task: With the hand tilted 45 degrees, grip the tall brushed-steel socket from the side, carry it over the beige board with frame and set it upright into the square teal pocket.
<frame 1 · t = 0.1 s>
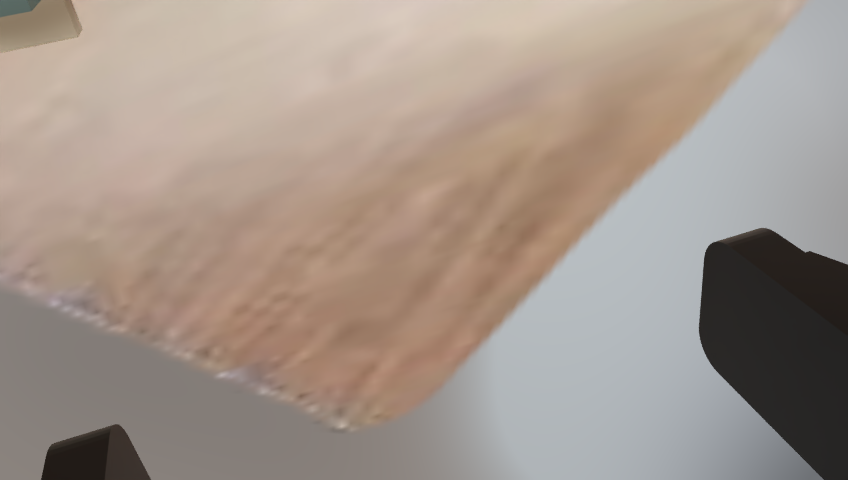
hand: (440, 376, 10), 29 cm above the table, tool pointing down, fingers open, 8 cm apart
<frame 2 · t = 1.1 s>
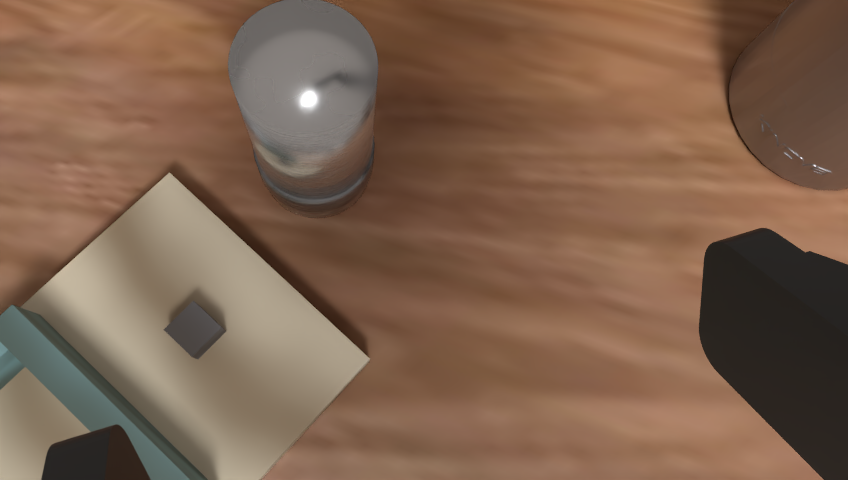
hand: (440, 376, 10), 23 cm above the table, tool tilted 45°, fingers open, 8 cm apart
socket: (317, 167, 34), on the table
beige board with frame: (98, 443, 30), on the table
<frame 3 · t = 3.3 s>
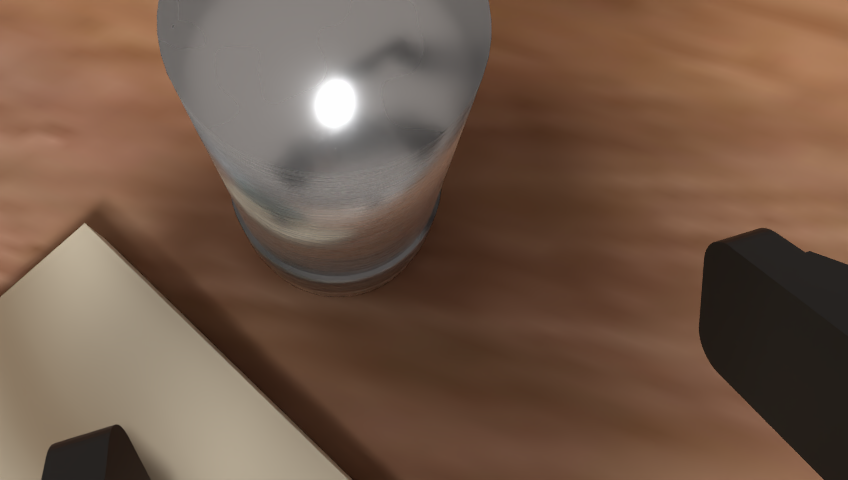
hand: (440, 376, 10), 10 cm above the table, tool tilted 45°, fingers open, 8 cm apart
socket: (339, 210, 20), on the table
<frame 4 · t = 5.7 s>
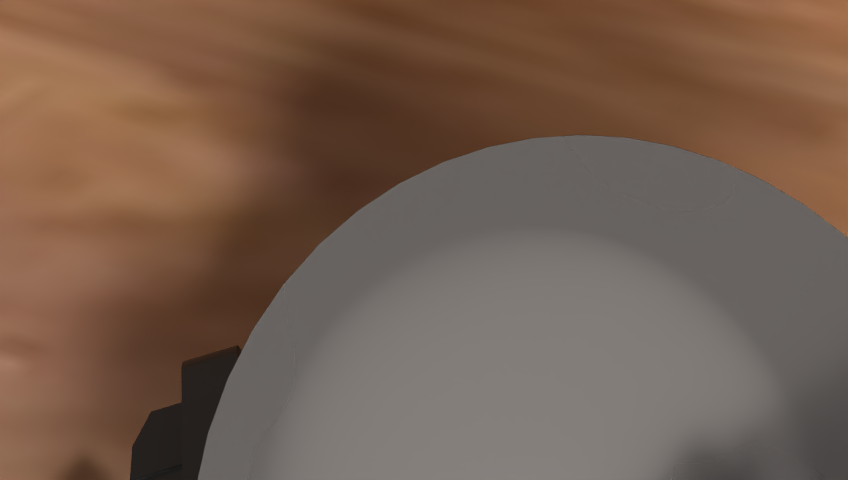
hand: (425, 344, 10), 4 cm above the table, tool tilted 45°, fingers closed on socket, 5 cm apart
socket: (433, 460, 14), on the table, touching gripper
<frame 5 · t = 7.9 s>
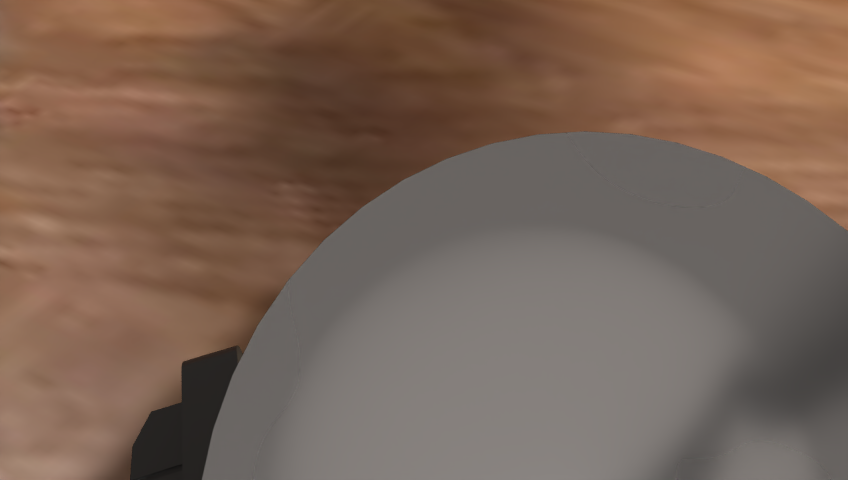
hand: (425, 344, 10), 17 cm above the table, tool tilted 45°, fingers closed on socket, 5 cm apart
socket: (434, 458, 14), point 12 cm above the table, touching gripper
when the fingers open (7 cm above the table, at t = 10.5 s): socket drops 1 cm, resting on beige board with frame.
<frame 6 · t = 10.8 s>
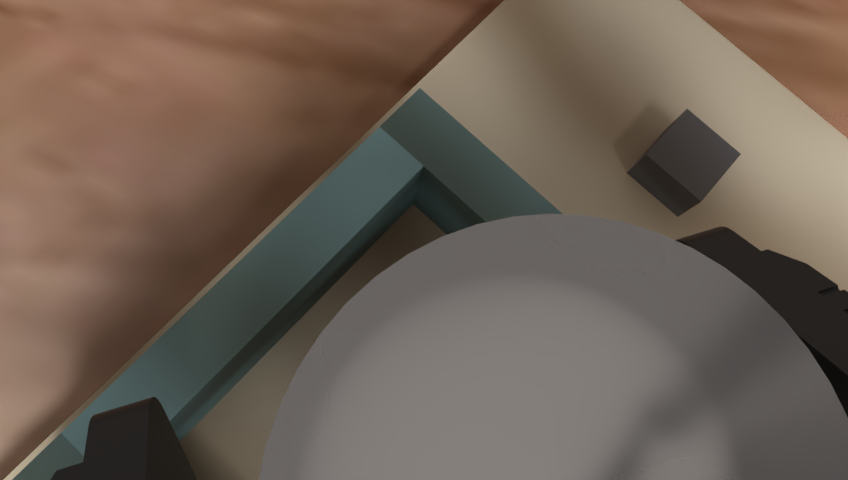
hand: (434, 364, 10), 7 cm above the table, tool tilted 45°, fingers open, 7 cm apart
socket: (434, 460, 15), point 2 cm above the table, touching beige board with frame
beige board with frame: (501, 360, 17), on the table
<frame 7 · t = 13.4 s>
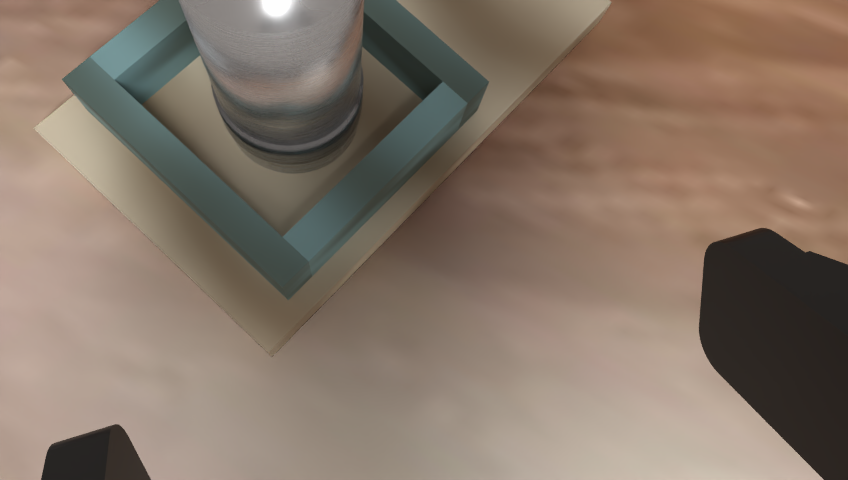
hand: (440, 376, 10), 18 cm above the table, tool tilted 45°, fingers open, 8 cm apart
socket: (293, 112, 28), point 2 cm above the table, touching beige board with frame
beige board with frame: (342, 78, 30), on the table
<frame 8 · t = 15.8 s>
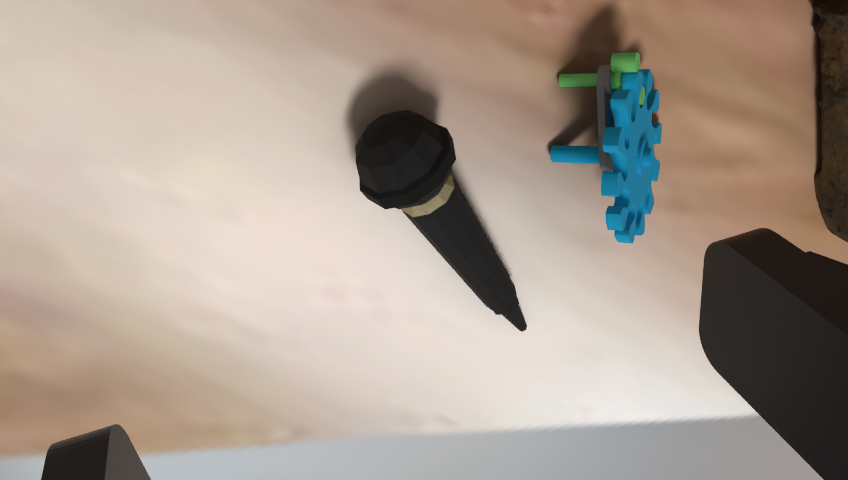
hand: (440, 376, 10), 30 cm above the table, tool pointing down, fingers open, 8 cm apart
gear: (599, 124, 45), on the table
microphone: (440, 229, 45), on the table
dark brown rod: (831, 115, 50), on the table
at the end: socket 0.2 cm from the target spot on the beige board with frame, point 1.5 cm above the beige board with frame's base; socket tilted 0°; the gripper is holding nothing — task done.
